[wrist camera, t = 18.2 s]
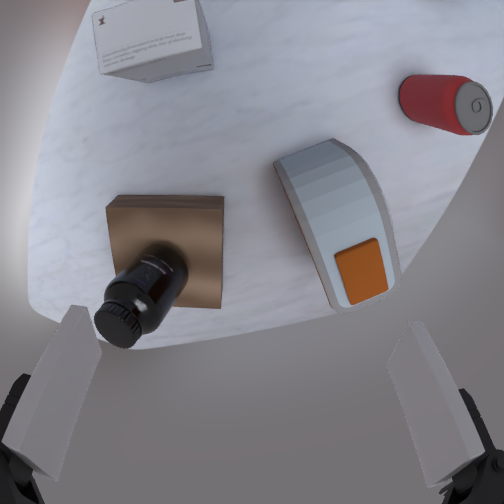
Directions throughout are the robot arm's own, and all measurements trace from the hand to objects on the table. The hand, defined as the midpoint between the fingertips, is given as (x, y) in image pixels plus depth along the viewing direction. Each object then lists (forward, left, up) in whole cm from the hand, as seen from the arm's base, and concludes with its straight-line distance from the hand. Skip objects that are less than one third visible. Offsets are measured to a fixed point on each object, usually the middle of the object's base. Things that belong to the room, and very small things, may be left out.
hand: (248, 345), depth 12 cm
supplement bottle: (+11, -9, -24) cm, 28 cm away
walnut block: (+11, -9, -29) cm, 32 cm away
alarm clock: (+4, +11, -29) cm, 31 cm away
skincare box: (-14, -8, -29) cm, 33 cm away
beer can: (-12, +22, -29) cm, 38 cm away
